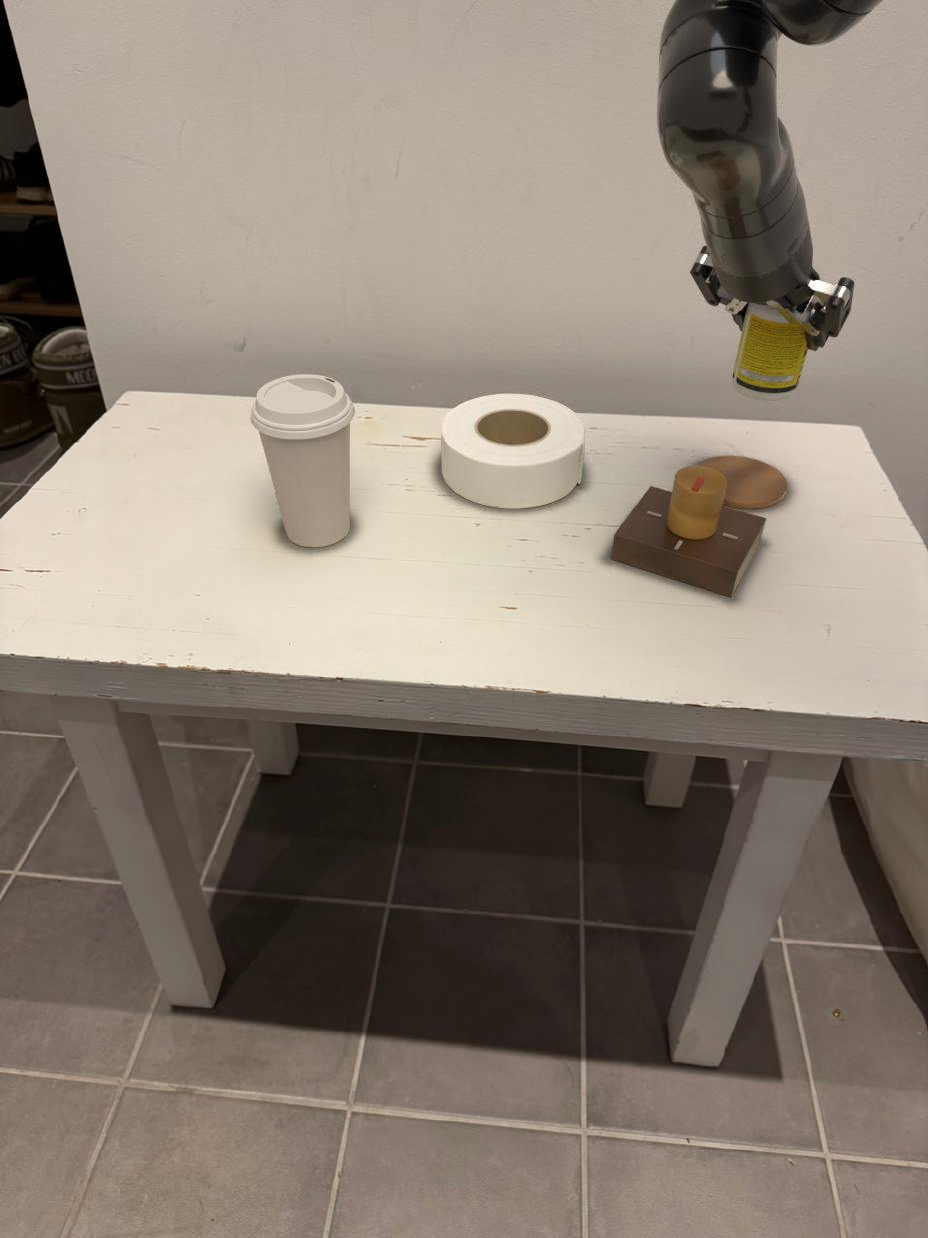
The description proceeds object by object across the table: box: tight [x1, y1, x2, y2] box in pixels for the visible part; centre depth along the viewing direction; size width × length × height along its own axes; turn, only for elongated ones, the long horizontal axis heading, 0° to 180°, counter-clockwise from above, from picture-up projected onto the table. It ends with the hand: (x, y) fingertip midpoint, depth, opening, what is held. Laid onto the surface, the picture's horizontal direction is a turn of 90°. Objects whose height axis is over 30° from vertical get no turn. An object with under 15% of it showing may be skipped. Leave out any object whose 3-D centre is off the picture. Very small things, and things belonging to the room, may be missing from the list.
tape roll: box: [440, 393, 586, 510], centre depth 95 cm, size 16×16×6 cm
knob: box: [666, 465, 727, 539], centre depth 82 cm, size 5×5×6 cm
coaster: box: [697, 455, 788, 509], centre depth 95 cm, size 10×10×1 cm
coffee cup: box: [250, 373, 356, 548], centre depth 84 cm, size 10×10×15 cm
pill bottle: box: [731, 303, 815, 402], centre depth 81 cm, size 6×6×11 cm
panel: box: [610, 485, 767, 598], centre depth 85 cm, size 12×10×3 cm
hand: (782, 331), depth 82 cm, fingers closed on pill bottle, 6 cm apart
